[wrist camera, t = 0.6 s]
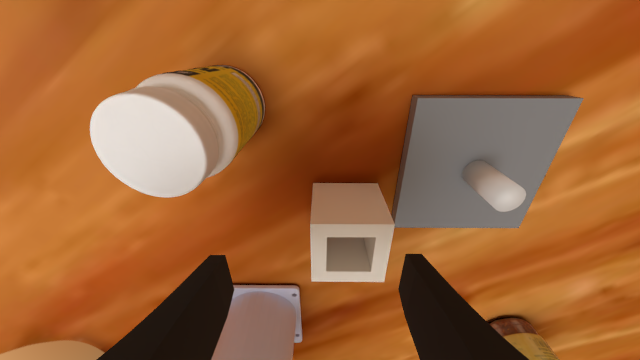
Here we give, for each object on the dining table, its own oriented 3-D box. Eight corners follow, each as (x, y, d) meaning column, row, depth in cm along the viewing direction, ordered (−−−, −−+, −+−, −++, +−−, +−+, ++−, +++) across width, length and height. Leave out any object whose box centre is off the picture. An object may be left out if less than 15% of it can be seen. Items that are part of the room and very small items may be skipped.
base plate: (510, 220, 20) (556, 261, 16) (390, 219, 20) (407, 260, 16) (568, 95, 15) (653, 111, 12) (412, 95, 16) (443, 110, 12)
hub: (371, 233, 21) (384, 282, 17) (313, 233, 21) (311, 281, 17) (377, 183, 19) (394, 224, 14) (312, 182, 19) (310, 224, 14)
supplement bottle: (235, 48, 14) (143, 46, 7) (280, 117, 16) (245, 173, 9) (177, 90, 16) (45, 128, 8) (225, 150, 17) (154, 224, 10)
